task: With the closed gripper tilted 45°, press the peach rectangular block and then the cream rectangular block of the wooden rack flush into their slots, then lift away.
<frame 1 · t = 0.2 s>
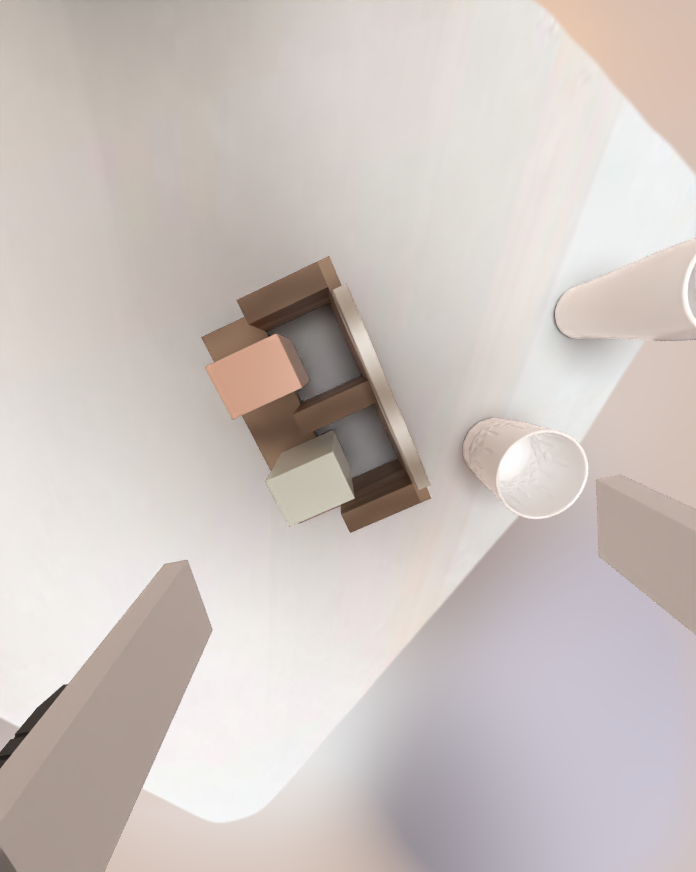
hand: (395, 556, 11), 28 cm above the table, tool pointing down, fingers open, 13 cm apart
wooden rack: (305, 411, 38), on the table
peach rectangular block: (263, 375, 32), point 6 cm above the table, slide at 0.0 cm
drinking glass 2: (576, 312, 37), on the table
cream rectangular block: (312, 473, 34), point 6 cm above the table, slide at 0.0 cm
white cup: (491, 446, 40), on the table
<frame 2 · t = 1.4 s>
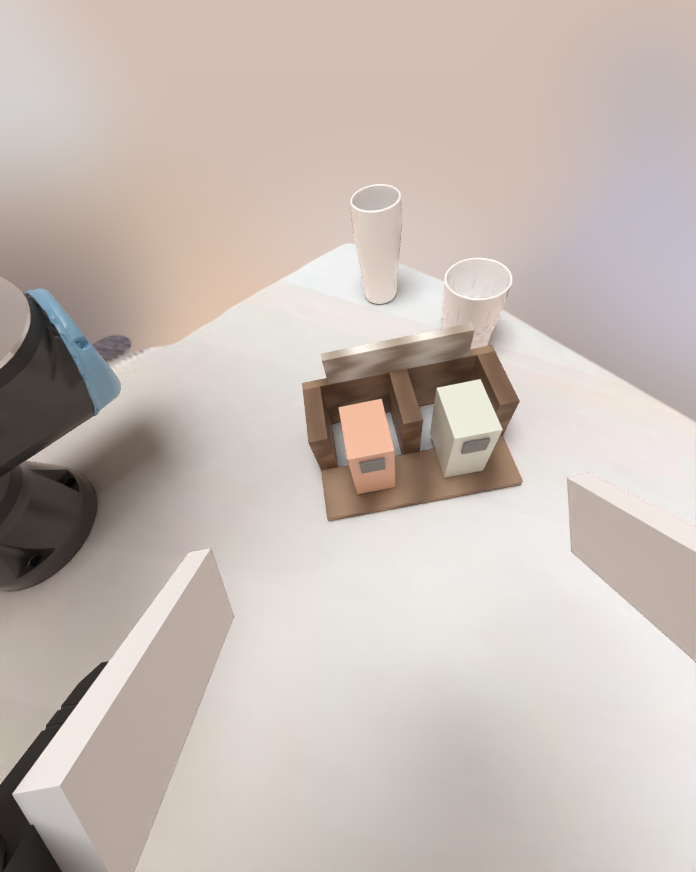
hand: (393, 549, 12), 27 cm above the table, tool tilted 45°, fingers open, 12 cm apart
wooden rack: (411, 456, 44), on the table
peach rectangular block: (368, 450, 38), point 6 cm above the table, slide at 0.0 cm
drinking glass 2: (380, 295, 59), on the table
cream rectangular block: (461, 432, 38), point 6 cm above the table, slide at 0.0 cm
white cup: (464, 338, 52), on the table
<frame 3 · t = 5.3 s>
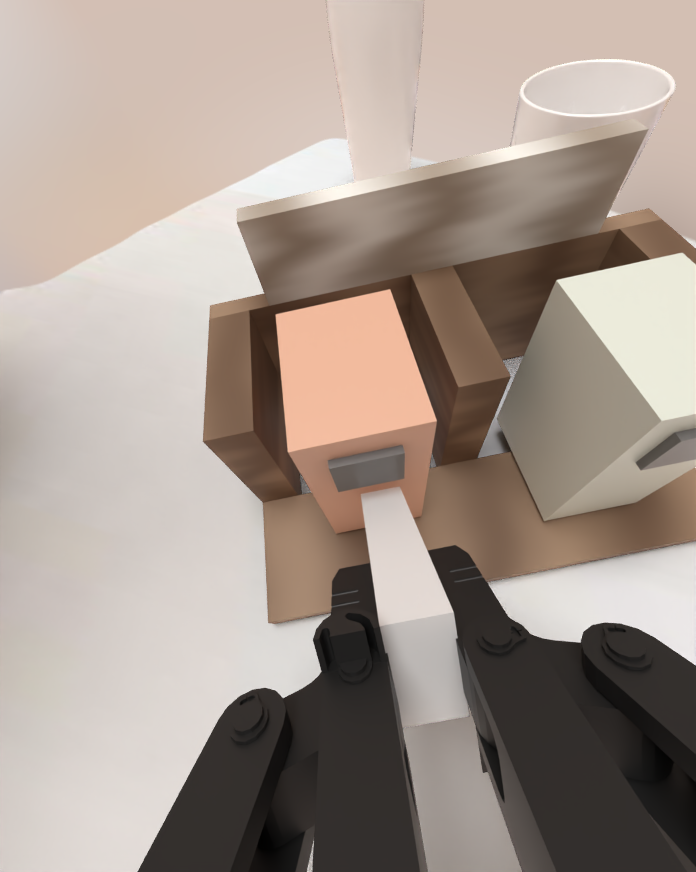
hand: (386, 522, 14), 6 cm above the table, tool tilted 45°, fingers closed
wooden rack: (456, 469, 20), on the table
peach rectangular block: (359, 432, 16), point 6 cm above the table, slide at 1.4 cm, touching gripper
drinking glass 2: (382, 199, 36), on the table
cream rectangular block: (603, 411, 15), point 6 cm above the table, slide at 0.0 cm
white cup: (535, 253, 29), on the table
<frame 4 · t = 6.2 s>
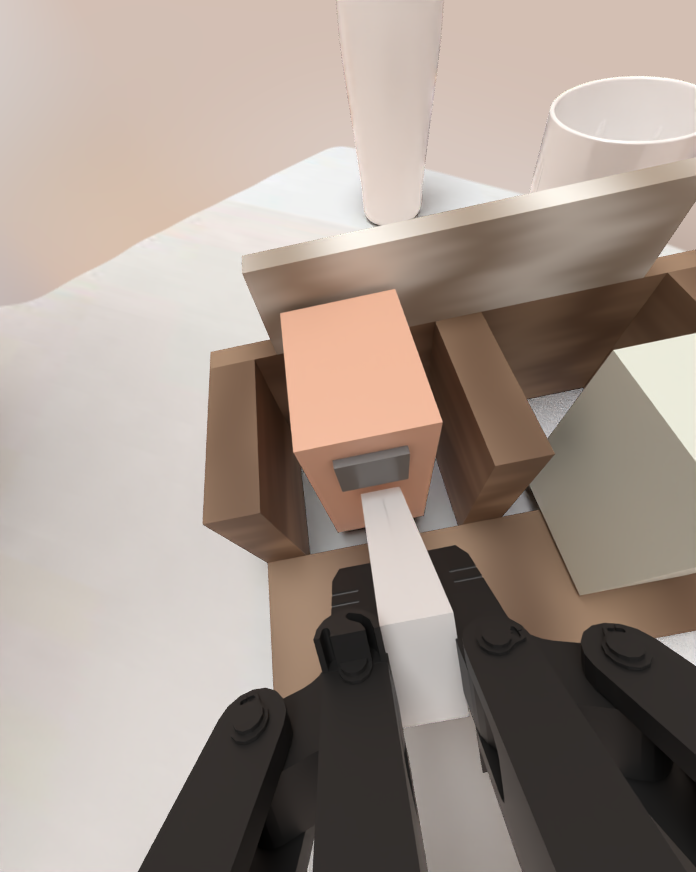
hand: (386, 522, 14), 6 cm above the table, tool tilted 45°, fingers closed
wooden rack: (478, 526, 19), on the table
peach rectangular block: (362, 432, 16), point 6 cm above the table, slide at 4.7 cm, touching gripper
drinking glass 2: (392, 215, 34), on the table
cream rectangular block: (655, 486, 13), point 6 cm above the table, slide at 0.0 cm
white cup: (557, 277, 27), on the table
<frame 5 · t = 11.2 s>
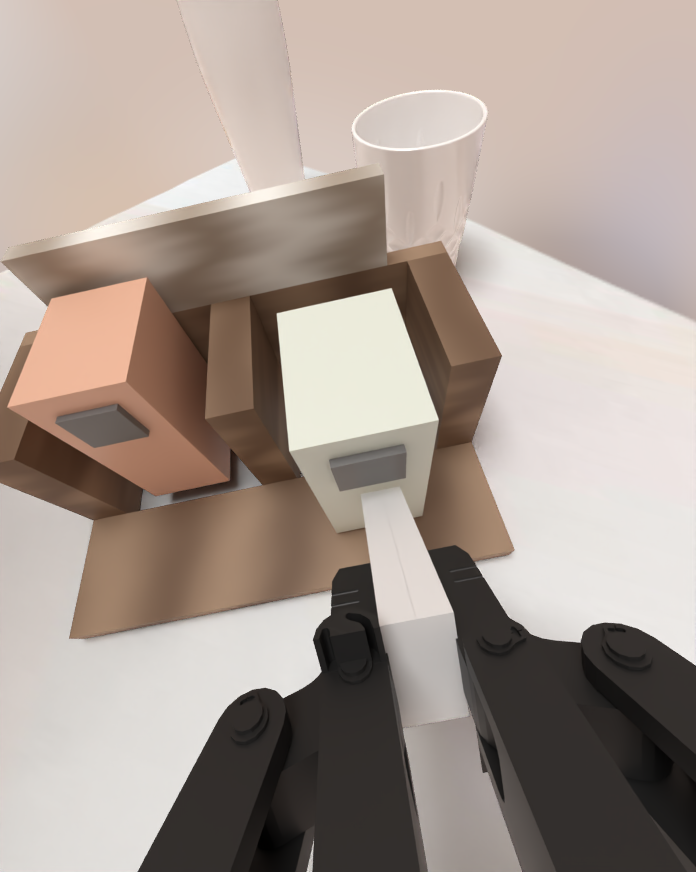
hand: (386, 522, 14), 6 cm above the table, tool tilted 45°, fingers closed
wooden rack: (284, 488, 21), on the table
peach rectangular block: (151, 403, 18), point 6 cm above the table, slide at 4.6 cm
drinking glass 2: (285, 215, 37), on the table
cream rectangular block: (360, 432, 16), point 6 cm above the table, slide at 0.4 cm, touching gripper
white cup: (412, 271, 30), on the table
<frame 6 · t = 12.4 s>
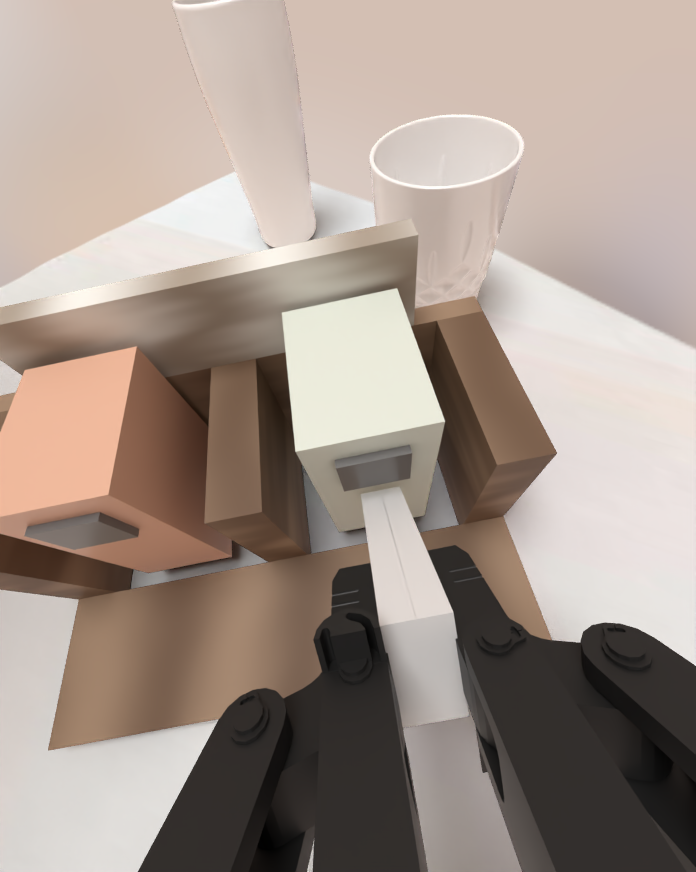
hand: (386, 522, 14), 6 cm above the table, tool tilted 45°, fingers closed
wooden rack: (293, 562, 19), on the table
peach rectangular block: (143, 480, 16), point 6 cm above the table, slide at 4.6 cm
drinking glass 2: (290, 236, 34), on the table
cream rectangular block: (364, 431, 16), point 6 cm above the table, slide at 4.7 cm, touching gripper
white cup: (429, 304, 28), on the table
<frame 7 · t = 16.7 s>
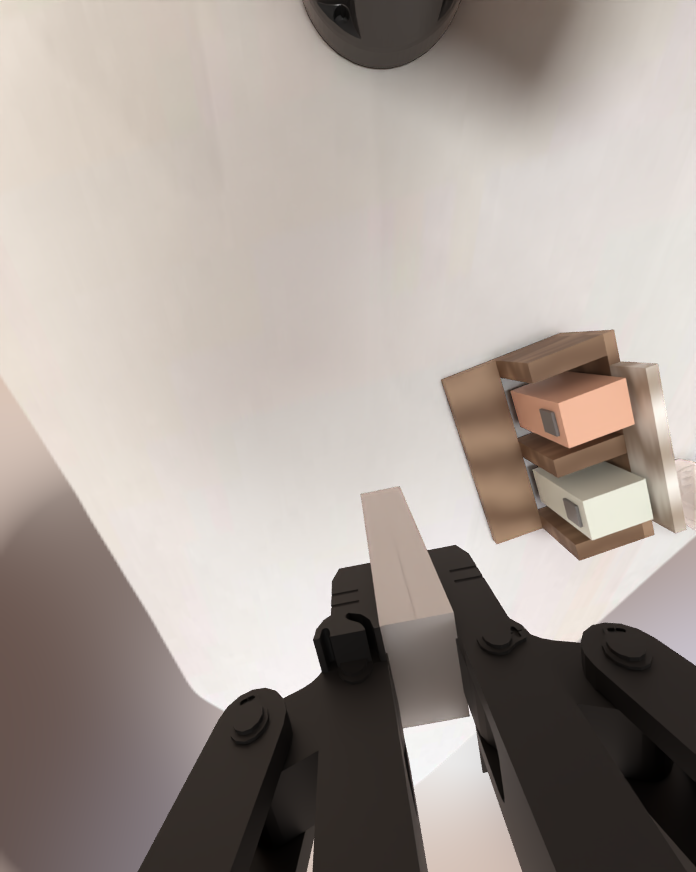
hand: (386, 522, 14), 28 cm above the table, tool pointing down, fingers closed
wooden rack: (516, 446, 43), on the table
peach rectangular block: (564, 406, 36), point 6 cm above the table, slide at 4.6 cm
cream rectangular block: (585, 492, 38), point 6 cm above the table, slide at 4.6 cm
white cup: (671, 483, 45), on the table
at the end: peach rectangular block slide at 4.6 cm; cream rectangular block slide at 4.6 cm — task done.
